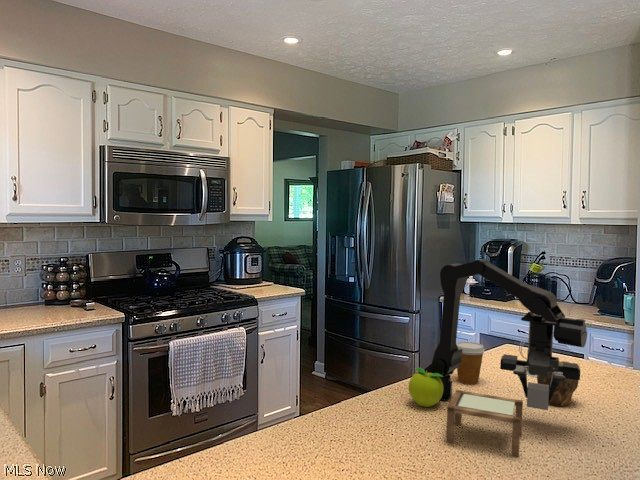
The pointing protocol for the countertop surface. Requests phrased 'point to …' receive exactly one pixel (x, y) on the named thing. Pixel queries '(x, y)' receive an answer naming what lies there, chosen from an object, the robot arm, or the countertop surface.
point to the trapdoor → (487, 404)
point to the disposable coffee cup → (470, 362)
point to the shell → (560, 389)
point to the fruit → (426, 388)
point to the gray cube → (537, 396)
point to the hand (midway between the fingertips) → (537, 399)
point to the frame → (457, 412)
